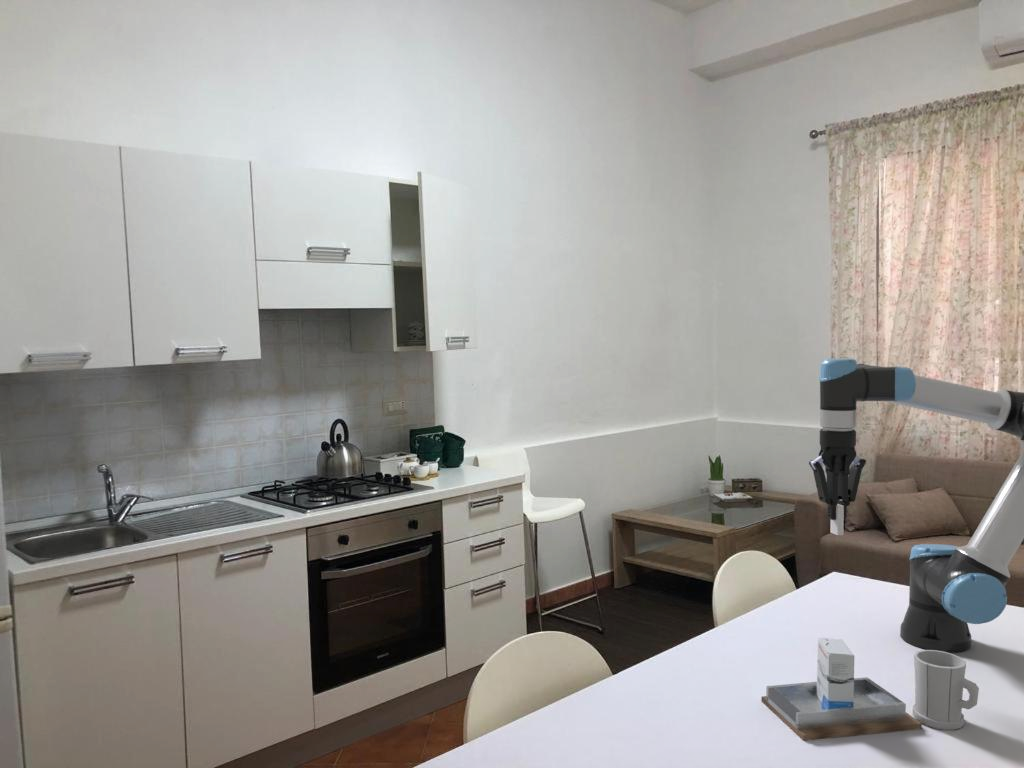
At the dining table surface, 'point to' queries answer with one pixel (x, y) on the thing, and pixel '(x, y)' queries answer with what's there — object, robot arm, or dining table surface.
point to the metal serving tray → (809, 712)
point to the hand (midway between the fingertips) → (836, 533)
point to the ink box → (835, 674)
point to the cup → (941, 689)
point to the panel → (850, 727)
